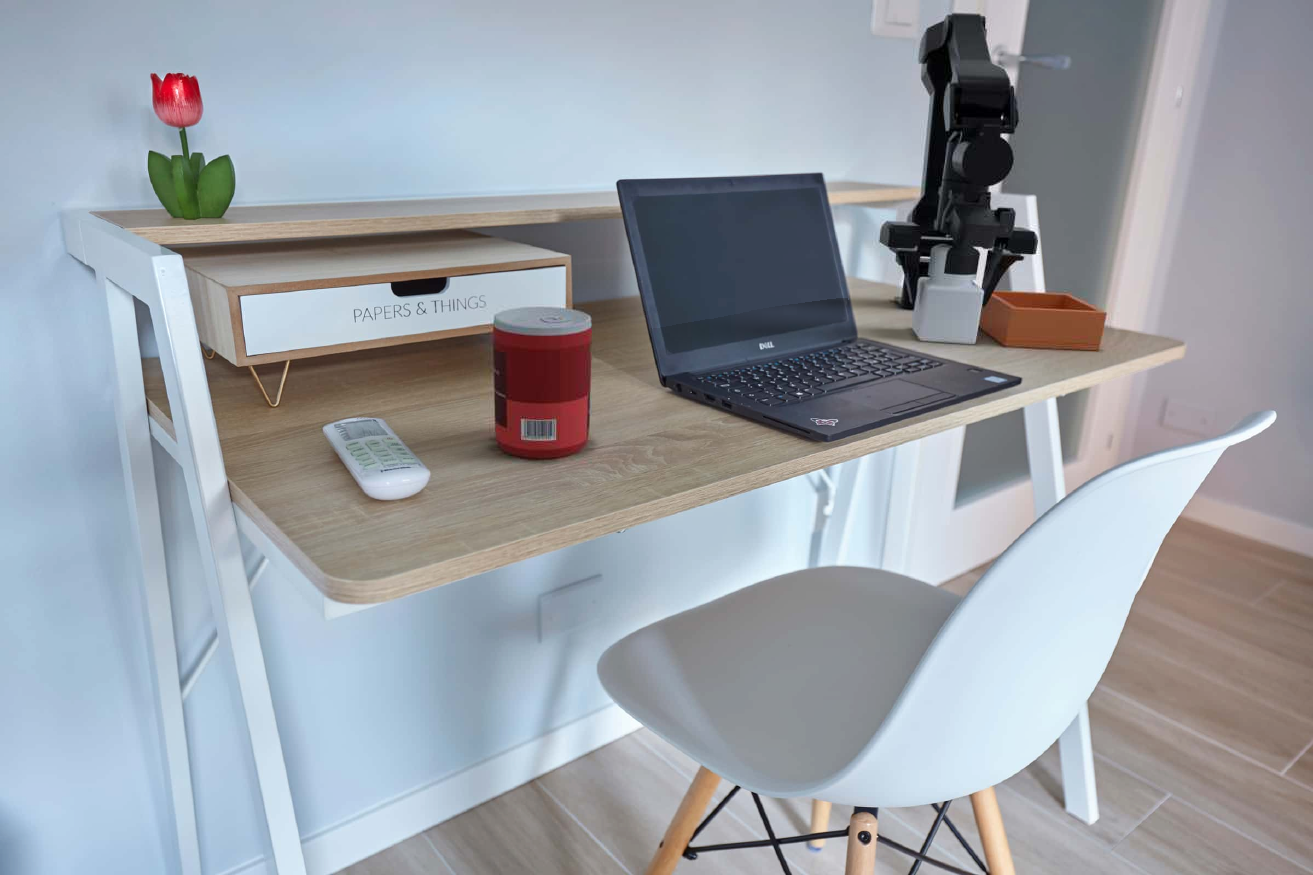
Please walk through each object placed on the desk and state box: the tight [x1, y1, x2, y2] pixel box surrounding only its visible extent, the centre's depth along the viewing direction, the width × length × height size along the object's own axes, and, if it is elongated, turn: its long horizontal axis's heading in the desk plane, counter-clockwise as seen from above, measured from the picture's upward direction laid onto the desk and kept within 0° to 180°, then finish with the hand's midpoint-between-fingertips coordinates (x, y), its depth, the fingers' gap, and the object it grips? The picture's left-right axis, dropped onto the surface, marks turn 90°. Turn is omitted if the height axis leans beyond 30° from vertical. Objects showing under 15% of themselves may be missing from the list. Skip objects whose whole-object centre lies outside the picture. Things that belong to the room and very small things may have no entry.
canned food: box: [492, 306, 593, 460], centre depth 77 cm, size 8×8×11 cm
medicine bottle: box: [911, 244, 984, 345], centre depth 121 cm, size 7×7×12 cm
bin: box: [978, 289, 1108, 352], centre depth 124 cm, size 12×12×5 cm
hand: (947, 304), depth 121 cm, fingers open, 9 cm apart
